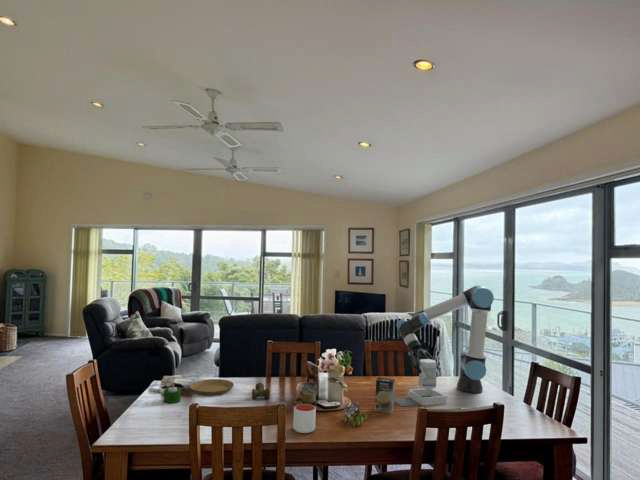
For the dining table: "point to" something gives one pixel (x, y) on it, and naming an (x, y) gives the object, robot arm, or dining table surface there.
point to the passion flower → (352, 410)
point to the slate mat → (405, 402)
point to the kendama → (260, 391)
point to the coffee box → (384, 395)
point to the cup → (304, 418)
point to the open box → (435, 399)
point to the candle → (172, 395)
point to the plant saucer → (212, 387)
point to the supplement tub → (428, 373)
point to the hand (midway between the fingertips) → (431, 376)
